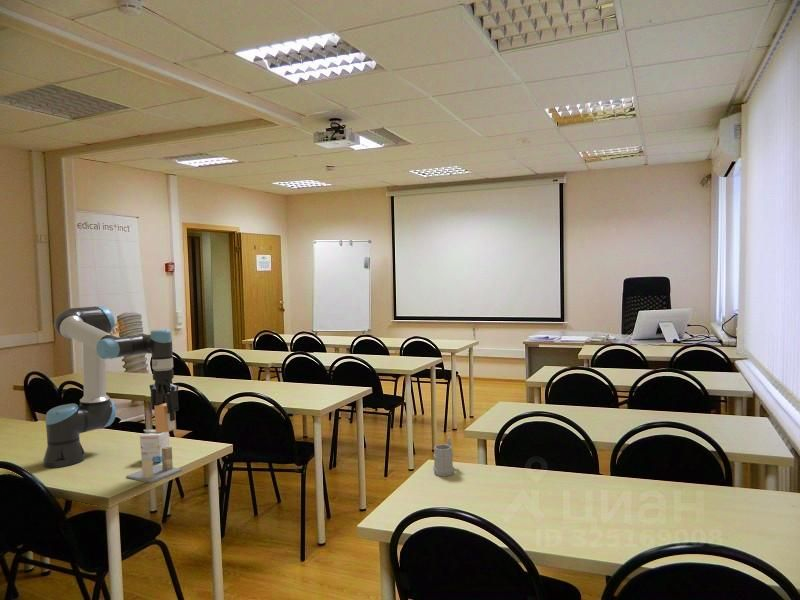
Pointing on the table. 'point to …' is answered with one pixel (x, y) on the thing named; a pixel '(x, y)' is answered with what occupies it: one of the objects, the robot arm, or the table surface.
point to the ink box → (153, 445)
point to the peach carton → (162, 418)
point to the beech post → (167, 458)
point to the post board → (155, 474)
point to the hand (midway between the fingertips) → (166, 428)
